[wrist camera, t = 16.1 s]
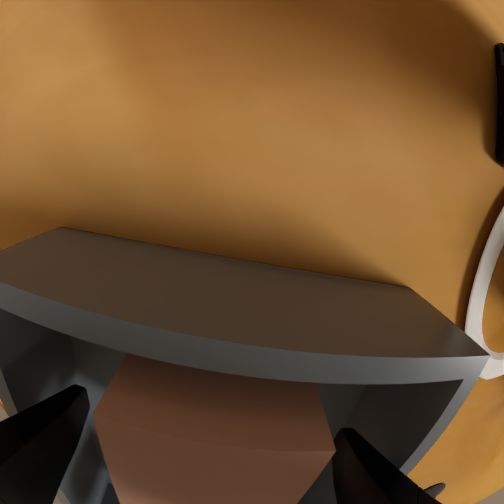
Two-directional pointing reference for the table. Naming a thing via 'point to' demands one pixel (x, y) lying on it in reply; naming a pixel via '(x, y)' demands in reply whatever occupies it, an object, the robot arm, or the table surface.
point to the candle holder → (498, 237)
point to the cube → (209, 435)
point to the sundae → (435, 490)
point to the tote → (226, 340)
